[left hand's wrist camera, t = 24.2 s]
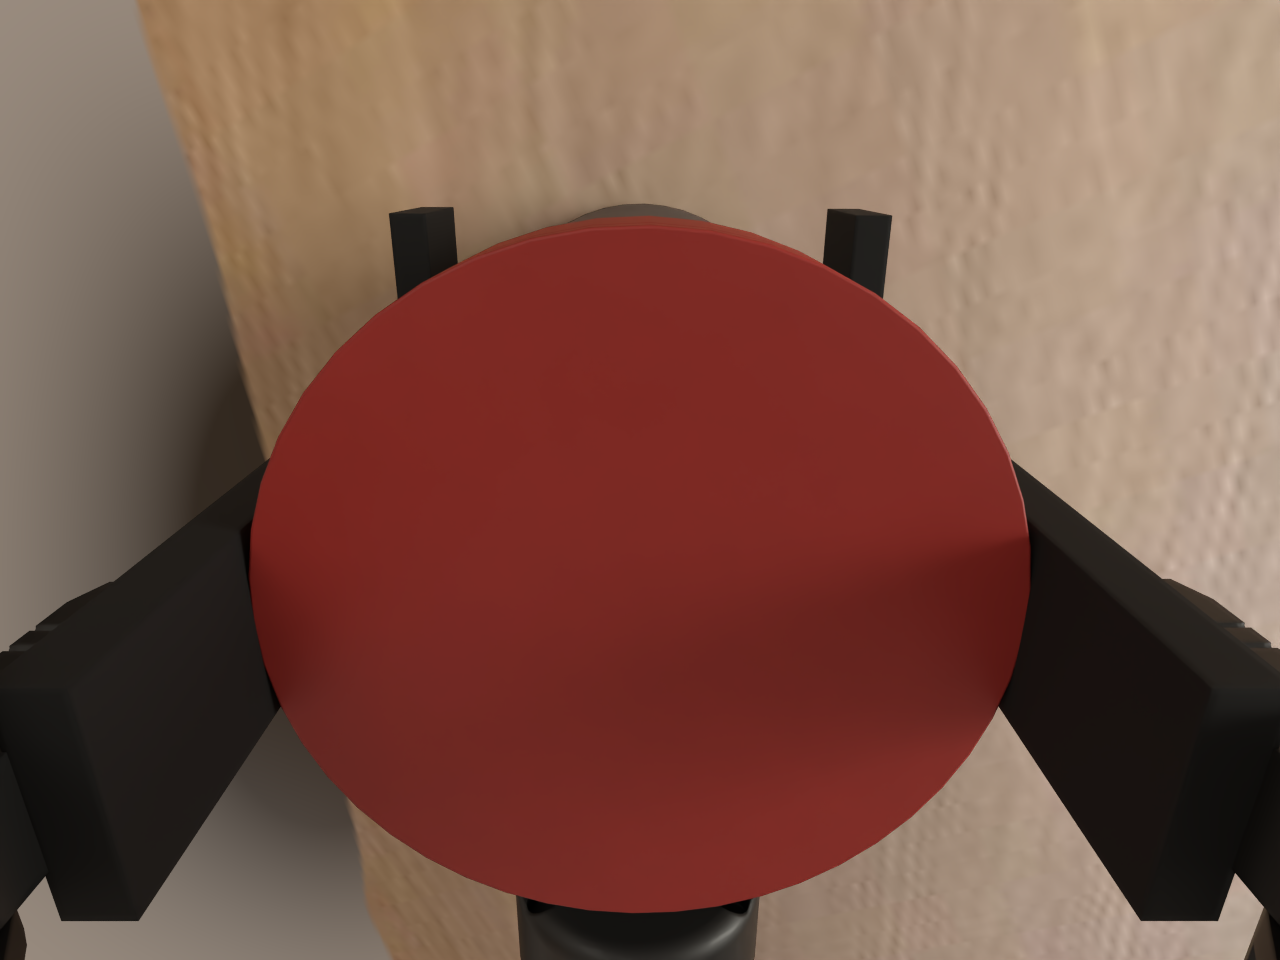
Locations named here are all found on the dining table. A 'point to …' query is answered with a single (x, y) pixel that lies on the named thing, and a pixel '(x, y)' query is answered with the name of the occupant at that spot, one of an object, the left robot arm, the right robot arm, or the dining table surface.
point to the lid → (639, 567)
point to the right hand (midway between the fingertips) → (640, 211)
